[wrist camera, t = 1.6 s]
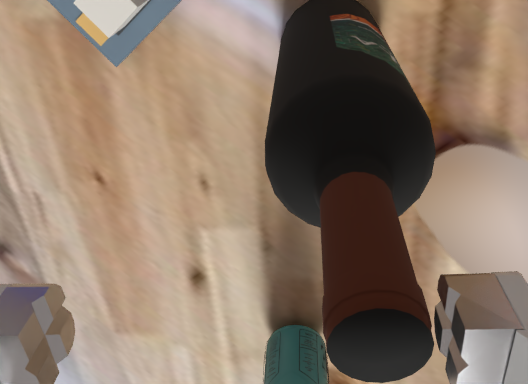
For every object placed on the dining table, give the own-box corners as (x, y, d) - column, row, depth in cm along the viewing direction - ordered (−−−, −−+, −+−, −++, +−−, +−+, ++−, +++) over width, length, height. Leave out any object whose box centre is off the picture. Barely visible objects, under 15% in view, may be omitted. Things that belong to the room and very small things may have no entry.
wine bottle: (273, 3, 38) (206, 244, 12) (377, -14, 36) (551, 209, 11) (288, 99, 41) (261, 441, 15) (382, 86, 40) (521, 431, 14)
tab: (119, -37, 35) (101, -31, 32) (151, -3, 36) (137, 7, 33) (92, -7, 36) (73, 3, 33) (124, 26, 37) (108, 38, 34)
